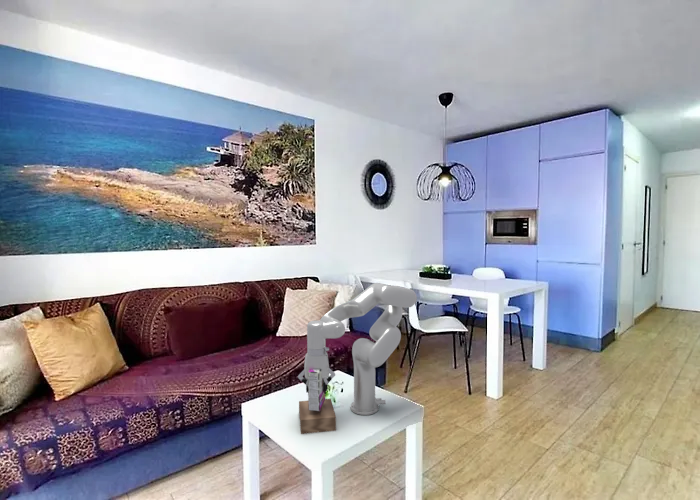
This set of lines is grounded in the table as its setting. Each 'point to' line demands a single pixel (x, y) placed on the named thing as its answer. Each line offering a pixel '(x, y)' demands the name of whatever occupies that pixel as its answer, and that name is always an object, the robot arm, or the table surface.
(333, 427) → the walnut block
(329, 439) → the table surface
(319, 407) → the candy bar box
